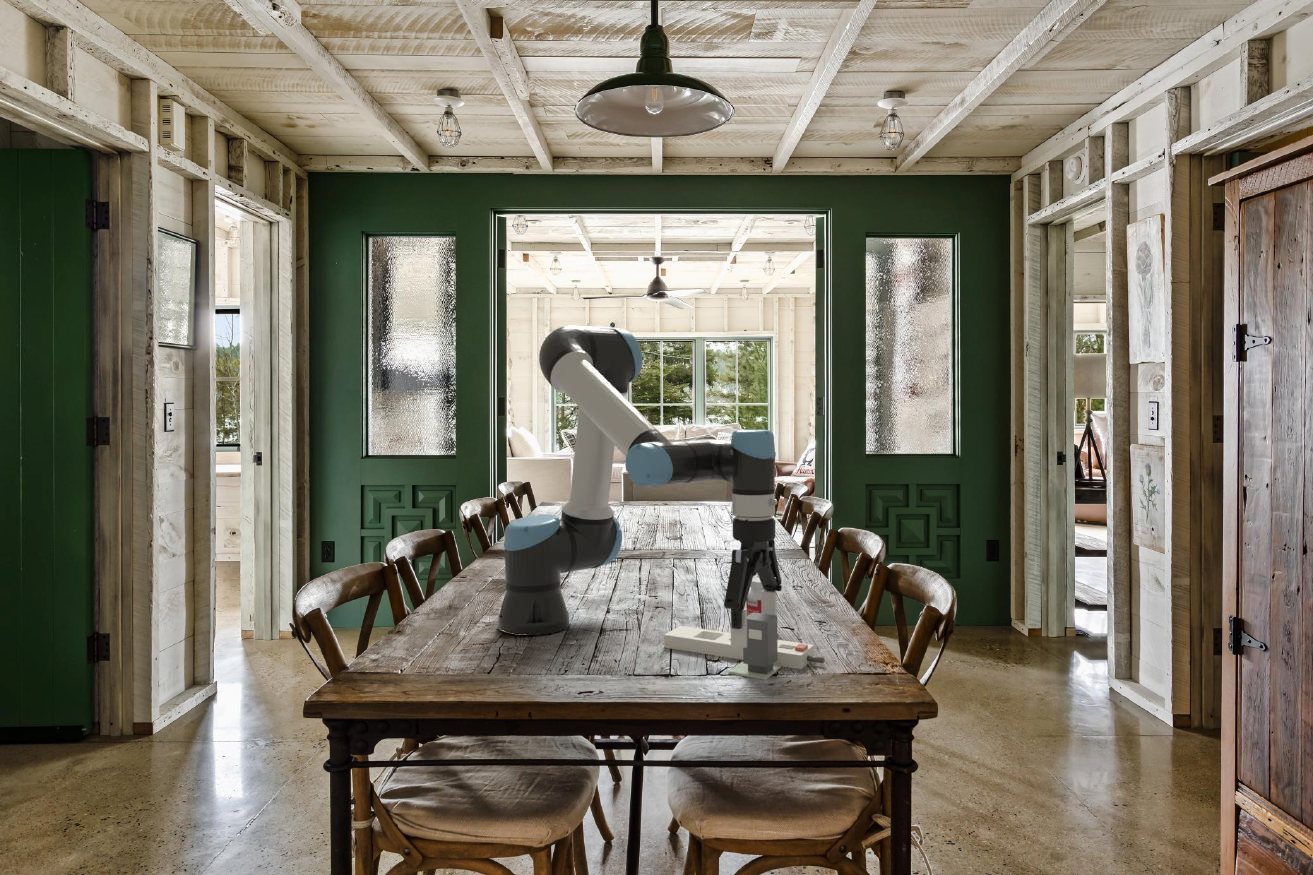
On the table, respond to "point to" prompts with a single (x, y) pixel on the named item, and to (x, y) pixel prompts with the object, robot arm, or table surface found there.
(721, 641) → the power strip
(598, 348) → the robot arm
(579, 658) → the table surface
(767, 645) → the block
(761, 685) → the table surface
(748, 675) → the felt pad
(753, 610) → the pill bottle
